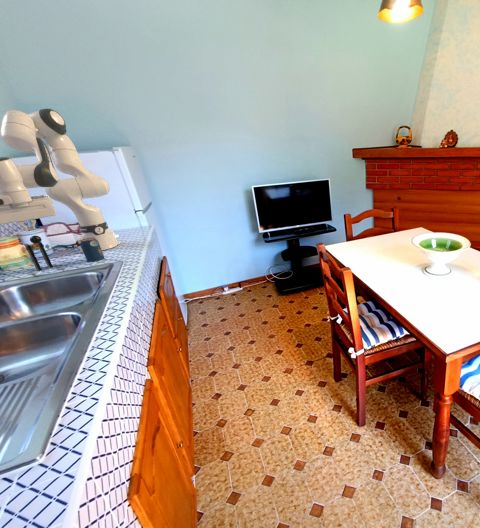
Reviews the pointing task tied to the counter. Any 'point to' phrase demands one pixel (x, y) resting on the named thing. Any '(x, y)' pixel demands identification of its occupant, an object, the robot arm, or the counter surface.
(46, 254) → the bracket
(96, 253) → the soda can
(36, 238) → the lever
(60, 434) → the counter surface
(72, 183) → the robot arm
